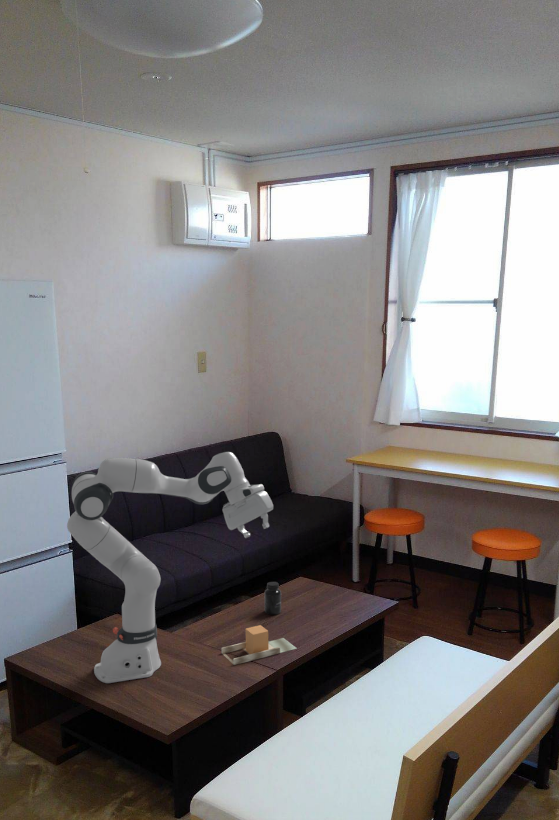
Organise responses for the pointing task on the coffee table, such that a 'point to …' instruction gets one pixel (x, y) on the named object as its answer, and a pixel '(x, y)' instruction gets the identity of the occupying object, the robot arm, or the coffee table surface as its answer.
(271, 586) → the supplement bottle
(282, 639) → the chute
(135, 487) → the robot arm
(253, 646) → the orange block
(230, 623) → the coffee table surface
